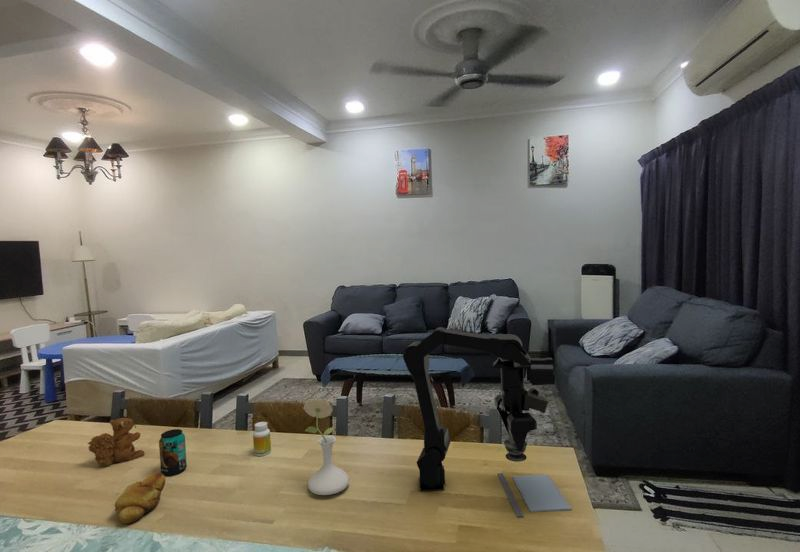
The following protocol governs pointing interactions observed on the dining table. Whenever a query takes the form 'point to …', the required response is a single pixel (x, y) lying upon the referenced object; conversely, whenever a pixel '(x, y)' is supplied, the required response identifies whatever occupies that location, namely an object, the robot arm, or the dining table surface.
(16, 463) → the dining table surface
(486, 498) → the dining table surface
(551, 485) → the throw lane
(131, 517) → the bread roll
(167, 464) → the beverage can
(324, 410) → the flower in vase
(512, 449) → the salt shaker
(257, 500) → the dining table surface
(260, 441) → the supplement bottle
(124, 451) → the stuffed squirrel
